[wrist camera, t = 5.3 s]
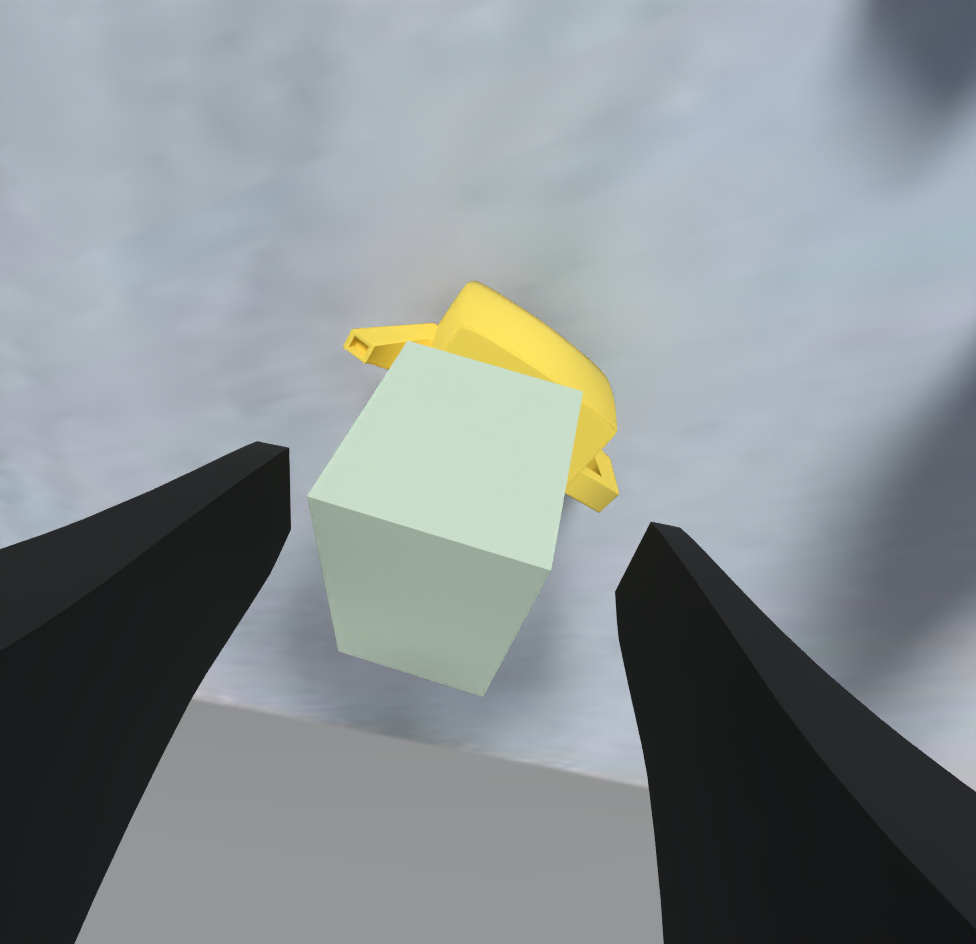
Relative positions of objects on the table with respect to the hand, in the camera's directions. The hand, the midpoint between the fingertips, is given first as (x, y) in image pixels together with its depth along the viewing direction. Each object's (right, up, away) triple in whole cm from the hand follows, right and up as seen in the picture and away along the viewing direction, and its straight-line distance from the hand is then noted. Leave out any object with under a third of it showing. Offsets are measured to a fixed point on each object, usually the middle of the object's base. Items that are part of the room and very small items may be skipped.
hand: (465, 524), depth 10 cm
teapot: (0, +4, +6) cm, 8 cm away
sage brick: (0, +1, +2) cm, 2 cm away
